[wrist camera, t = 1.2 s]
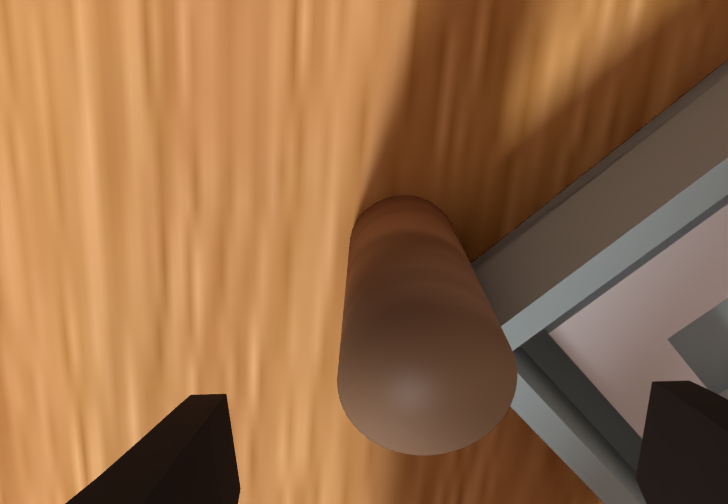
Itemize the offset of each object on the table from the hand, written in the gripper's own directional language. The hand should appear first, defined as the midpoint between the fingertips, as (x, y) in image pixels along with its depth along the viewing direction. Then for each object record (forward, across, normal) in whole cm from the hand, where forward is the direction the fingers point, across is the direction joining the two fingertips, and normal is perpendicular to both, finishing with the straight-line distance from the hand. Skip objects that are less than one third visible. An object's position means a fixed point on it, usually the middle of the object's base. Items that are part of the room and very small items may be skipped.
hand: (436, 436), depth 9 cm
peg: (+10, 0, 0) cm, 10 cm away
